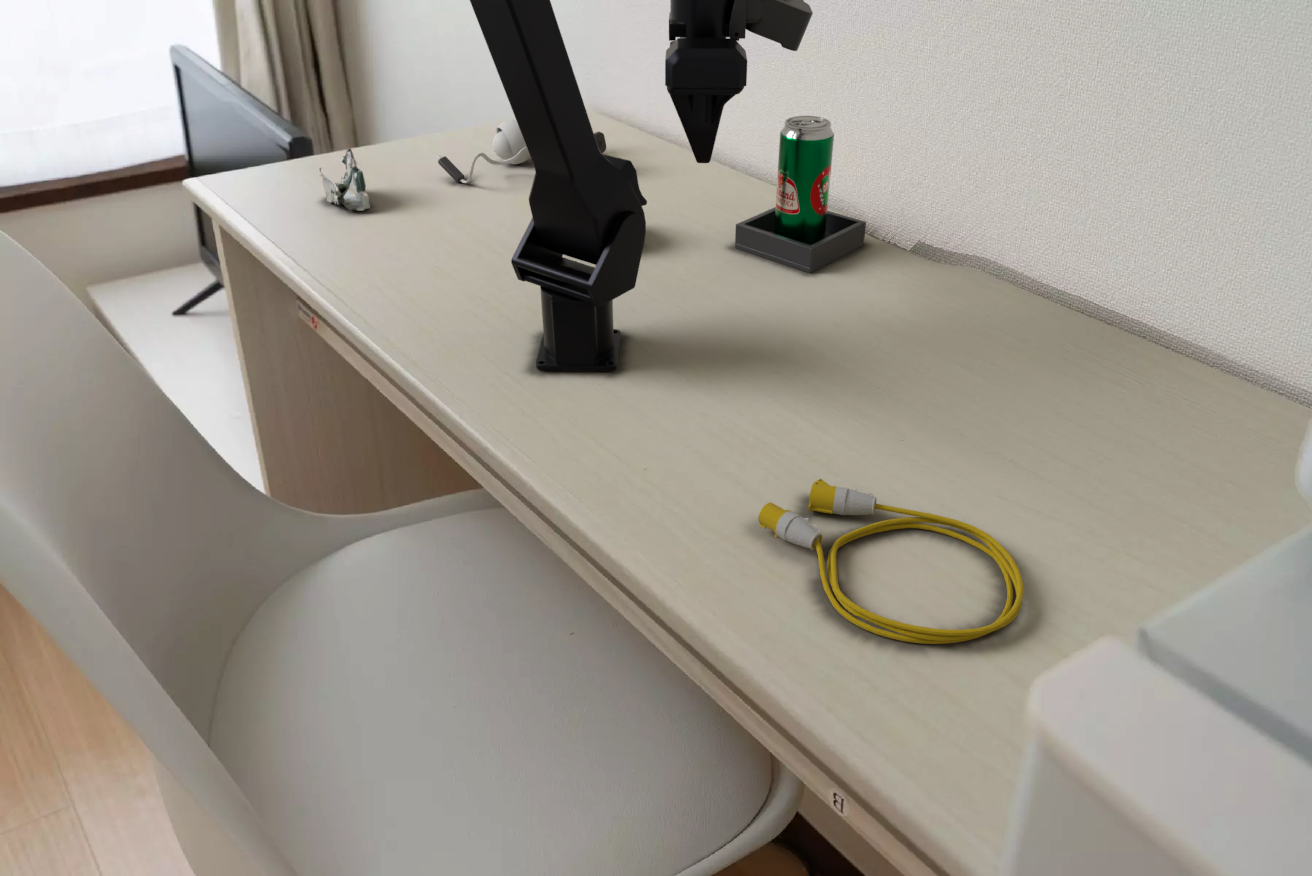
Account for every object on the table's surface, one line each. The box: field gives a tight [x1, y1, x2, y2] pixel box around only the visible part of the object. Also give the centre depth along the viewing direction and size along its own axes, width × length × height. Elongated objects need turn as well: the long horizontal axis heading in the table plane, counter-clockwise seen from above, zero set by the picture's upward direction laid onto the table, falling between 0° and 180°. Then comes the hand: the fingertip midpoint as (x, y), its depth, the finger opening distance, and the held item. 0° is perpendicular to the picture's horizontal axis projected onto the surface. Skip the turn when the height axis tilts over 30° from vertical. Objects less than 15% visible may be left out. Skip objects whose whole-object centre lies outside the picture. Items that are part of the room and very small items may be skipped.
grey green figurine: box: [318, 147, 371, 212], centre depth 115 cm, size 4×8×7 cm, turn 31°
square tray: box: [734, 206, 867, 274], centre depth 106 cm, size 9×9×2 cm
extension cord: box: [757, 478, 1024, 645], centre depth 64 cm, size 12×16×2 cm
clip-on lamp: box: [436, 119, 607, 184], centre depth 124 cm, size 12×6×18 cm
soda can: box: [774, 115, 835, 245], centre depth 103 cm, size 5×5×12 cm
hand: (703, 145), depth 92 cm, fingers open, 9 cm apart
